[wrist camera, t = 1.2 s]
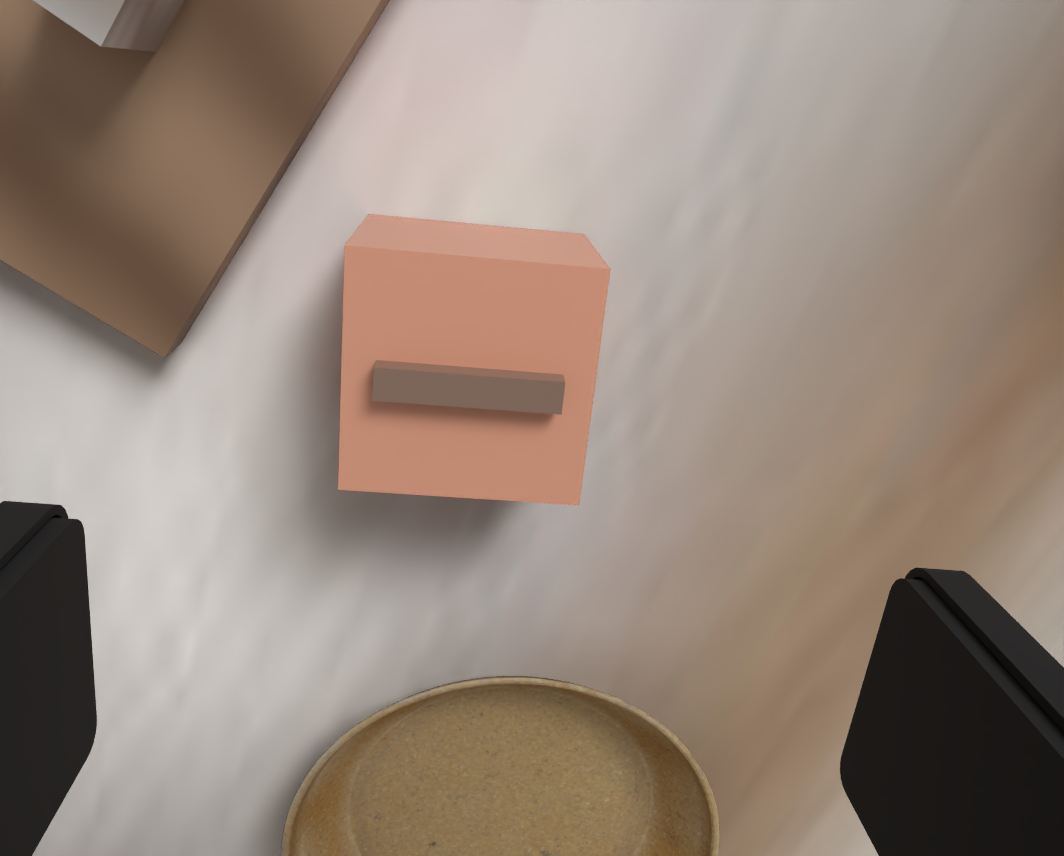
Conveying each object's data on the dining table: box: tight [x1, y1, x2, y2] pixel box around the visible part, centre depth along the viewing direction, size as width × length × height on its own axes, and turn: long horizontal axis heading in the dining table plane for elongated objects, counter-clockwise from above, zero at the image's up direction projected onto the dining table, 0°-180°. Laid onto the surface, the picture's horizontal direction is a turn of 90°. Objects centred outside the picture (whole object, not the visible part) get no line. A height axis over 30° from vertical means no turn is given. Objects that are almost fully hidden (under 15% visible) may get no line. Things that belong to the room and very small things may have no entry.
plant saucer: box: [281, 676, 720, 856], centre depth 31 cm, size 15×15×3 cm
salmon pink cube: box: [338, 214, 610, 505], centre depth 23 cm, size 6×6×6 cm
